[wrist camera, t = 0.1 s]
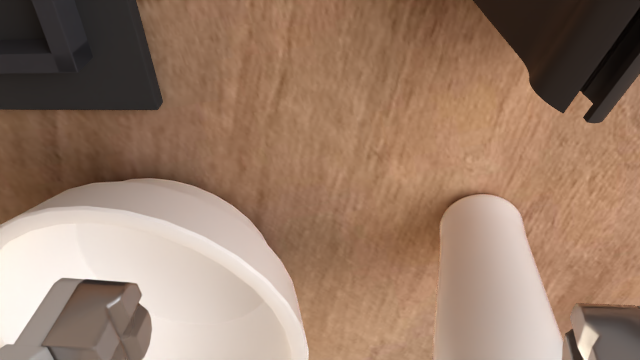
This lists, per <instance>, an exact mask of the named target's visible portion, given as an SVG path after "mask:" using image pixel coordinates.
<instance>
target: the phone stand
mask: <svg viewBox="0 0 640 360" xmlns="http://www.w3.org/2000/svg"><path fill="white" fill-rule="evenodd" d="M473 1H474V2H475V4H476V5H477V6H478V7H479V8H480V10H481V11H482V12H483V13H484V15H485V16H486V17H487V18H488V19H489V21H490V22H491V23H492V24H493V25H494V27H495V28H496V29H497V30H498V32H499V33H500V34H501V35H502V36H503V38H504V39H505V40H506V41H507V42H508V44H509V45H510V46H511V47H512V48H513V50H514V51H515V52H516V53H517V55H518V56H519V57H520V58H521V59H522V61H523V62H524V64H525V65H526V67H527V69H528V72H529V82H530V85H531V87H532V88H533V90H534V91H535V92H536V93H537V94H538V95H539V96H540V97H541V98H542V99H543V100H544V101H545V102H547V103H548V104H549V105H551V106H552V107H554V108H555V109H557V110H558V111H560V112H562V113H564V112H565V110H566V109H567V108H568V106H569V105H570V103H571V102H572V101H573V99H574V98H575V96H576V95H577V94H578V92H579V91H582V93H583V94H584V95H585V96H586V97H587V98H588V99H589V100H590V101H591V102H592V103H593V105H592V106H591V108H590V109H589V110H588V112H587V113H586V114H585V116H584V117H583V118H584V119H585V120H586V122H588V123H600V122H602V121H603V120H604V119H605V118H606V116H607V115H608V114H609V112H610V111H611V110H612V109H613V107H614V106H615V105H616V103H617V102H618V101H619V100H620V98H621V97H622V96H623V94H624V93H625V92H626V91H627V89H628V88H629V87H630V86H631V84H632V83H633V82H634V80H635V79H636V78H637V77H638V75H639V74H640V0H473Z"/></svg>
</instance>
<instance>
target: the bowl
mask: <svg viewBox="0 0 640 360" xmlns="http://www.w3.org/2000/svg"><path fill="white" fill-rule="evenodd" d="M61 278H75V279H92V280H105V281H118V282H131V283H137V284H138V287H139V289H140V291H141V293H142V297H141V299H140V301H139V304H141V305H142V306H143V307H144V308H146V309H147V310H148V312H149V314H150V317H151V323H152V333H151V339H150V345H149V347H148V350H147V352H146V355H145V357H144V358H143V359H142V360H308V353H309V349H308V345H307V340H306V336H305V331H304V327H303V322H302V318H301V313H300V309H299V304H298V300H297V296H296V292H295V289H294V285H293V281H292V279H291V278H290V276H289V274H288V272H287V270H286V269H285V267H284V265H283V263H282V261H281V260H280V259H279V258H278V256H277V255H276V254H275V253H274V252H273V250H272V249H271V248H270V247H269V246H268V244H267V243H266V241H265V239H264V237H263V235H262V234H261V233H260V231H259V230H258V229H257V228H256V227H255V225H254V224H253V223H252V222H251V221H250V220H249V219H248V218H247V217H246V216H245V215H243V214H242V213H241V212H240V211H239V210H238V209H236V208H235V207H234V206H232V205H231V204H229V203H228V202H226V201H224V200H223V199H221V198H219V197H218V196H216V195H214V194H212V193H209V192H207V191H205V190H202V189H200V188H198V187H195V186H192V185H188V184H185V183H181V182H177V181H173V180H165V179H155V178H143V179H129V180H125V181H119V182H101V183H91V184H87V185H83V186H79V187H75V188H71V189H67V190H65V191H64V192H62V193H60V194H58V195H56V196H54V197H52V198H50V199H48V200H46V201H44V202H43V203H41V204H39V205H37V206H35V207H33V208H31V209H29V210H27V211H26V212H24V213H22V214H20V215H18V216H16V217H14V218H12V219H11V220H9V221H7V222H5V223H3V224H1V225H0V348H1V347H3V346H4V345H6V344H14V343H15V341H16V340H17V338H18V337H19V335H20V334H21V332H22V331H23V329H24V328H25V326H26V325H27V323H28V322H29V320H30V319H31V317H32V316H33V314H34V313H35V311H36V310H37V308H38V307H39V305H40V304H41V302H42V301H43V299H44V298H45V296H46V295H47V293H48V292H49V290H50V289H51V287H52V286H53V284H54V283H55V282H56V281H58V280H59V279H61Z"/></svg>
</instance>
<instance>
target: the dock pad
mask: <svg viewBox="0 0 640 360" xmlns="http://www.w3.org/2000/svg"><path fill="white" fill-rule="evenodd" d="M162 103H163V100H162V97H161V93H160V89H159V85H158V82H157V78H156V74H155V70H154V67H153V63H152V59H151V55H150V52H149V48H148V44H147V41H146V37H145V33H144V29H143V26H142V22H141V18H140V14H139V11H138V7H137V3H136V0H0V109H14V110H158V109H159V107H160V106H161V104H162Z"/></svg>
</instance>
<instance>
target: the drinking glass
mask: <svg viewBox="0 0 640 360" xmlns="http://www.w3.org/2000/svg"><path fill="white" fill-rule="evenodd" d="M439 232H440V254H439V270H438V284H437V298H436V310H435V323H434V337H433V355H432V360H562V346H563V339H562V336H561V333H560V330H559V327H558V325H557V322H556V319H555V316H554V313H553V311H552V308H551V305H550V302H549V300H548V297H547V294H546V291H545V288H544V286H543V283H542V280H541V277H540V274H539V271H538V269H537V266H536V263H535V260H534V257H533V254H532V251H531V248H530V245H529V242H528V239H527V236H526V232H525V228H524V223H523V220H522V217H521V215H520V213H519V211H518V210H517V208H516V207H515V206H514V205H513V204H511V203H510V202H509V201H507V200H505V199H503V198H501V197H498V196H495V195H489V194H477V195H471V196H467V197H464V198H462V199H459V200H458V201H456V202H454V203H453V204H452V205H451V206H449V207H448V209H447V210H446V211H445V212H444V214H443V216H442V218H441V221H440V228H439Z"/></svg>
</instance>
